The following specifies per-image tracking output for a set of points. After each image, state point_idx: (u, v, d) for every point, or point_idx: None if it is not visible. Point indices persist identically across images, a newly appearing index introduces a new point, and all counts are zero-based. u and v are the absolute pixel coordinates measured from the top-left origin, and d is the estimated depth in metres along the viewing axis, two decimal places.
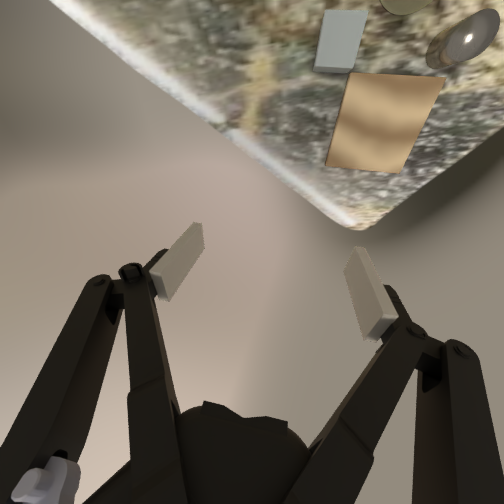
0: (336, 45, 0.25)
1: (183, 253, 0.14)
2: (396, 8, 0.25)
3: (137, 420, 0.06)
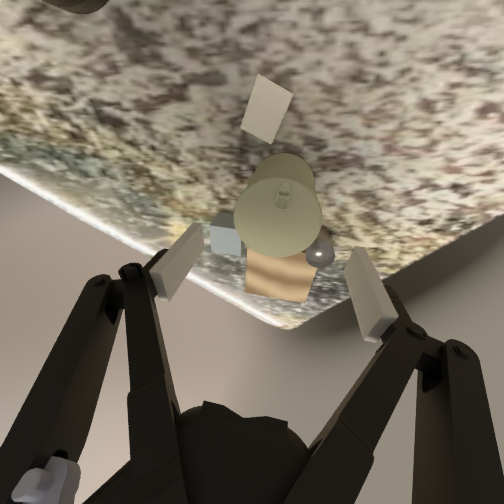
0: (223, 243, 0.31)
1: (183, 253, 0.14)
2: None
3: (137, 420, 0.06)
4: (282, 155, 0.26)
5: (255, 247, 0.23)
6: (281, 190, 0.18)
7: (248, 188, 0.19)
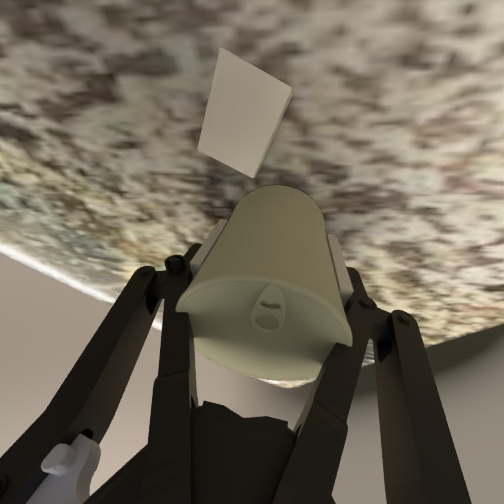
0: None
1: None
2: None
3: (159, 408, 0.06)
4: (274, 190, 0.16)
5: (224, 363, 0.13)
6: (264, 300, 0.08)
7: (194, 288, 0.09)
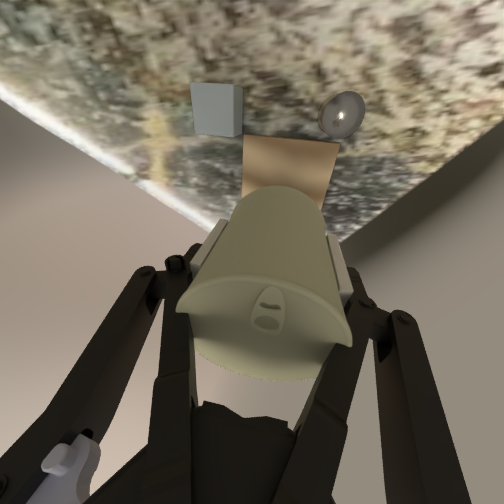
0: (210, 115, 0.23)
1: None
2: None
3: (159, 408, 0.06)
4: (274, 191, 0.16)
5: (224, 363, 0.13)
6: (264, 301, 0.08)
7: (194, 289, 0.09)
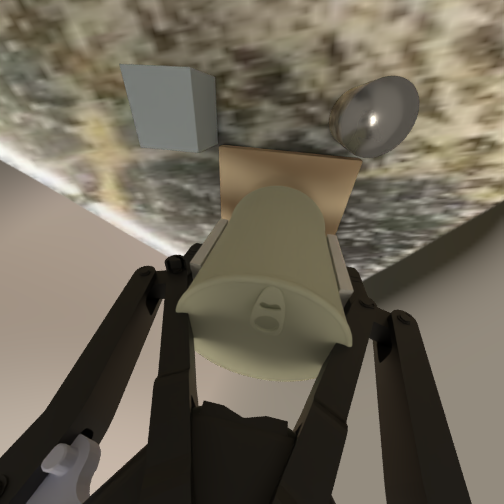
0: (159, 118, 0.15)
1: None
2: None
3: (159, 408, 0.06)
4: (274, 191, 0.16)
5: (224, 363, 0.13)
6: (264, 301, 0.08)
7: (194, 289, 0.09)
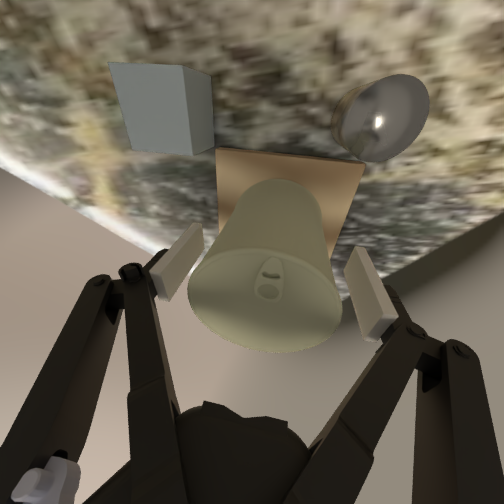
0: (151, 120, 0.14)
1: (183, 253, 0.14)
2: None
3: (137, 420, 0.06)
4: (275, 183, 0.17)
5: (229, 337, 0.14)
6: (266, 270, 0.09)
7: (206, 262, 0.10)
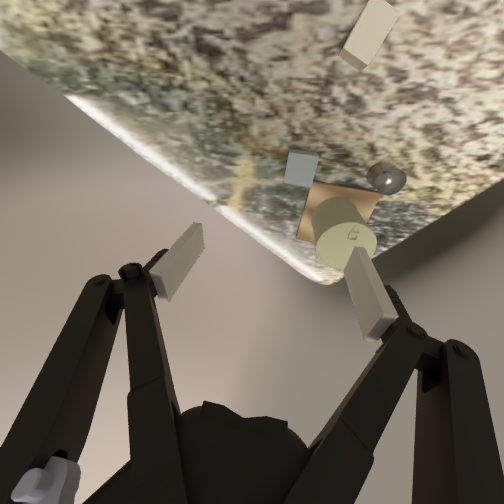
0: (297, 172, 0.34)
1: (183, 253, 0.14)
2: None
3: (137, 420, 0.06)
4: (339, 199, 0.38)
5: (326, 262, 0.34)
6: (354, 229, 0.30)
7: (333, 226, 0.30)
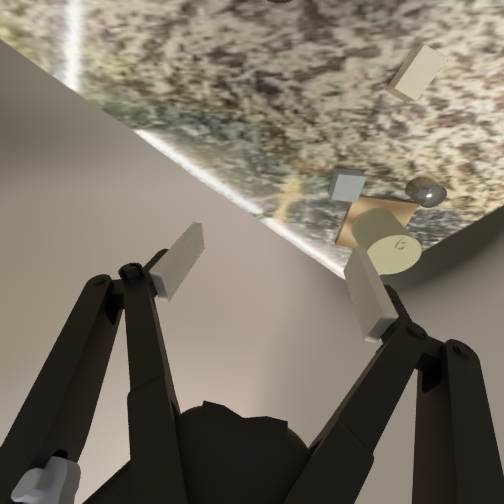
0: (345, 190, 0.39)
1: (183, 253, 0.14)
2: None
3: (137, 420, 0.06)
4: (380, 210, 0.42)
5: None
6: (402, 241, 0.34)
7: (382, 239, 0.35)
